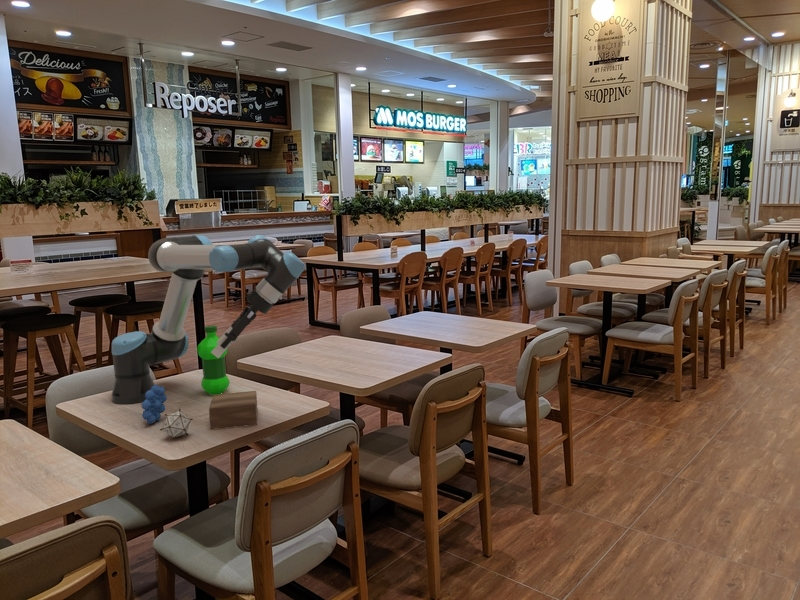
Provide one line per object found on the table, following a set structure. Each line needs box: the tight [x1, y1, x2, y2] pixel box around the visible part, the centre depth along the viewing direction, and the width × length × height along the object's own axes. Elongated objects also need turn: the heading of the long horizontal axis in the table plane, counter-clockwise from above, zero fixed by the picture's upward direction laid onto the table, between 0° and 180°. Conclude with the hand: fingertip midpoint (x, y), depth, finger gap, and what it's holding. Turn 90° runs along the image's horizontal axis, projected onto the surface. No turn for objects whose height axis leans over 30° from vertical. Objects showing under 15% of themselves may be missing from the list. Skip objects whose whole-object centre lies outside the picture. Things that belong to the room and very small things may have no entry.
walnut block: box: [208, 390, 259, 430], centre depth 197 cm, size 14×14×7 cm
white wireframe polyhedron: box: [159, 408, 194, 441], centre depth 184 cm, size 9×8×10 cm
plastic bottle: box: [196, 325, 230, 396], centre depth 223 cm, size 10×10×25 cm
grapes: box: [141, 384, 168, 425], centre depth 197 cm, size 12×7×12 cm, turn 167°
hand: (217, 350), depth 183 cm, fingers open, 13 cm apart
